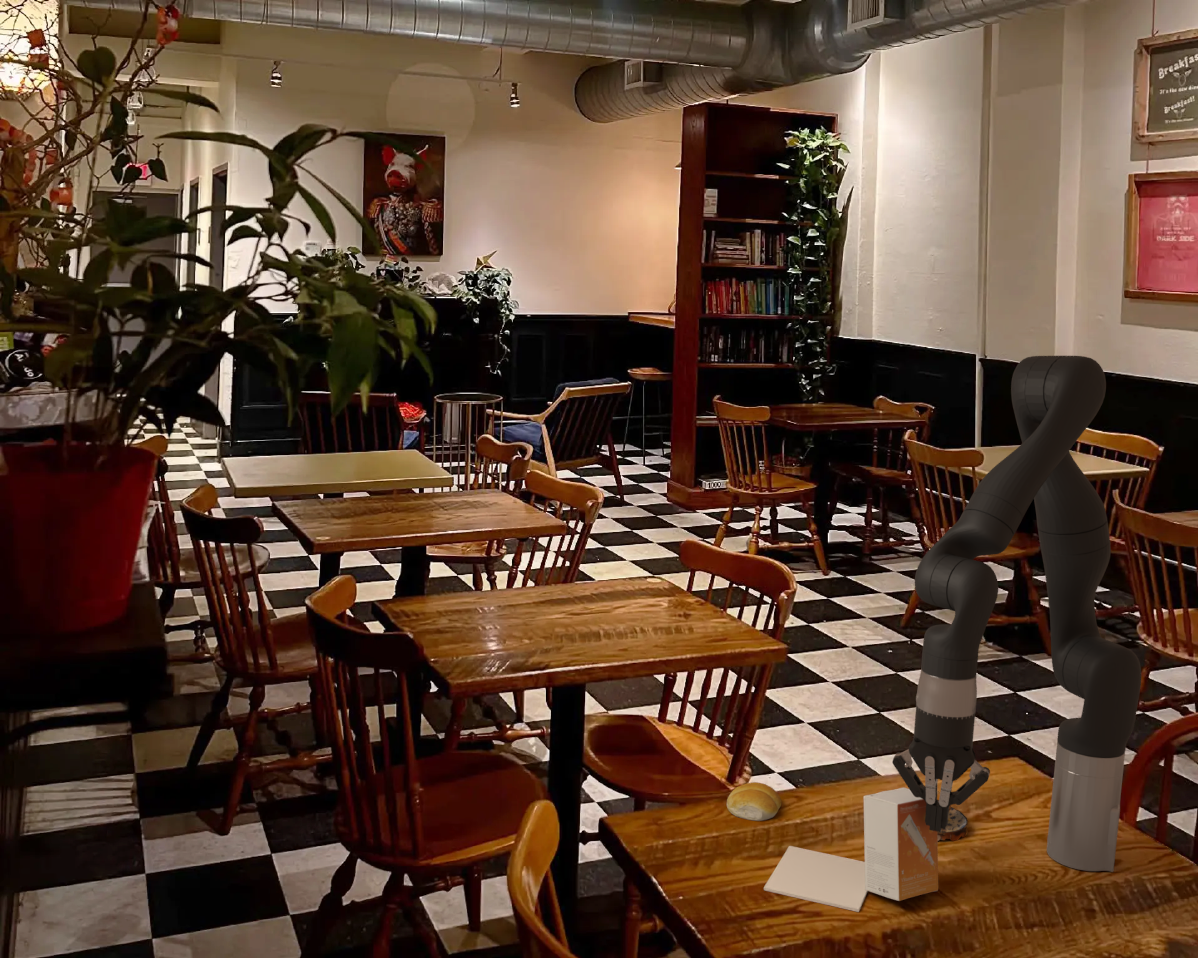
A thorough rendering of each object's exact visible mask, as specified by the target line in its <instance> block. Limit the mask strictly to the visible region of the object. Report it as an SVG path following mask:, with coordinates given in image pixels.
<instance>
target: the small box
mask: <svg viewBox="0 0 1198 958" xmlns="http://www.w3.org/2000/svg"><path fill="white" fill-rule="evenodd" d="M925 814H926V802H925V800H924V799H922V798H920V797H915V796H914V795H913V794H912V792H911V791H910V789H909V788H908V787H907V788H906V787H899V788H896V789H890V790H883V791H879V792H877V793H872V794H866V795H863V831H864V832H863V833H864V835H863V840H864V841H863V843H864V845H863V846H864V847H863V848H864V862H865V890H867V891H868V892H870V893H873V894H876V895H879V896H882V897H885V898H887V899H891V900H894V901H898V902H901V901H903V900H907V899H910V898H914V897H918V896H920V895H921V896H922V895H926V894H928V893H933V892H938V891H939V858H938V857H939V856H938V855H939V852H938V851H939V850H938V849H939V848H938V844H939V843H938V841H937V832H936V831H932V830H929V828H930V826H928V825H926V823H925Z"/></svg>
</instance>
